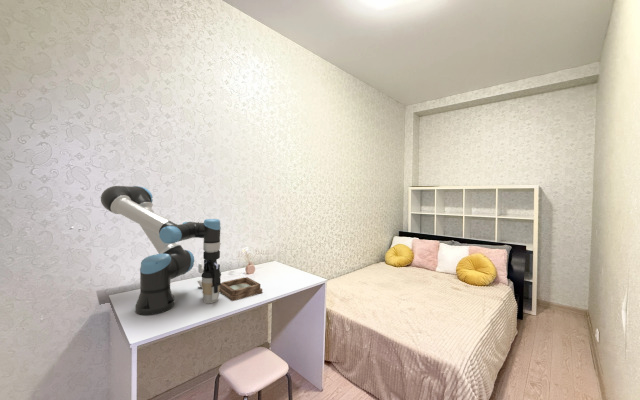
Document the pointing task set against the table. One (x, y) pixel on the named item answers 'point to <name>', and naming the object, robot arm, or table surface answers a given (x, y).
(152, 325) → the table surface
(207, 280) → the coffee cup
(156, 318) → the table surface
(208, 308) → the table surface
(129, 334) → the table surface
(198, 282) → the figurine
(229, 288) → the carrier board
